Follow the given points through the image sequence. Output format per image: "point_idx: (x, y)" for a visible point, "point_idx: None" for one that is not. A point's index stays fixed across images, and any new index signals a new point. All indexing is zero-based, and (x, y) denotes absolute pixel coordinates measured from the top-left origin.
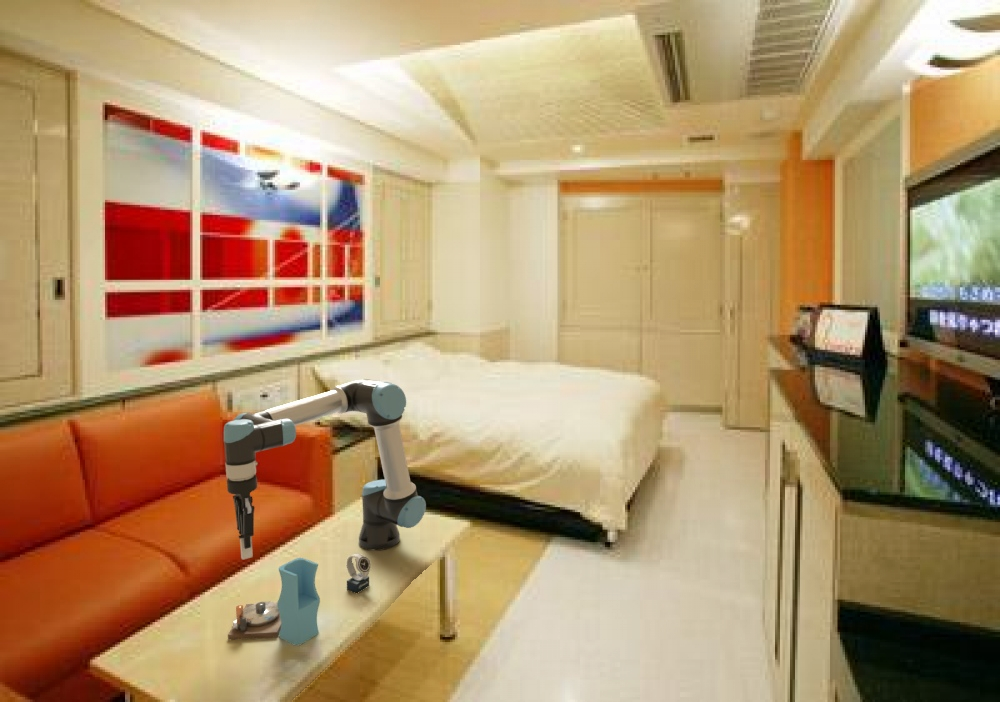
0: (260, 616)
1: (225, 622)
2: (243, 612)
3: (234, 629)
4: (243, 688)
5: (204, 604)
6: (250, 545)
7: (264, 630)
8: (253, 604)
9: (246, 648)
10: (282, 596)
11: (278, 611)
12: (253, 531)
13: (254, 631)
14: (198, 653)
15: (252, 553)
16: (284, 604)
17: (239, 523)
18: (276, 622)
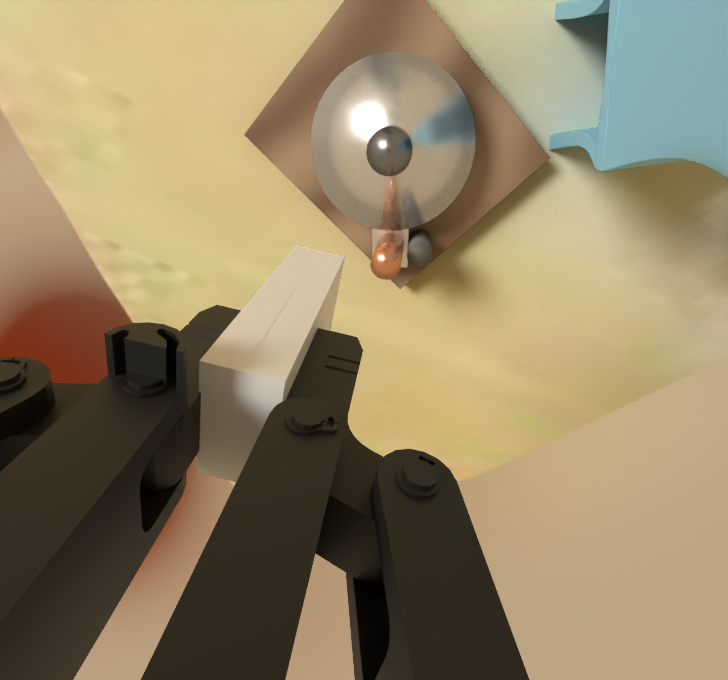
0: (431, 174)
1: (288, 236)
2: (343, 207)
3: None
4: (669, 366)
5: (115, 230)
6: (361, 355)
7: (491, 187)
8: (312, 143)
9: (500, 266)
10: (665, 160)
11: (458, 85)
12: (476, 545)
13: (463, 217)
14: (394, 364)
15: (338, 269)
16: (676, 161)
17: (71, 668)
18: (484, 118)
